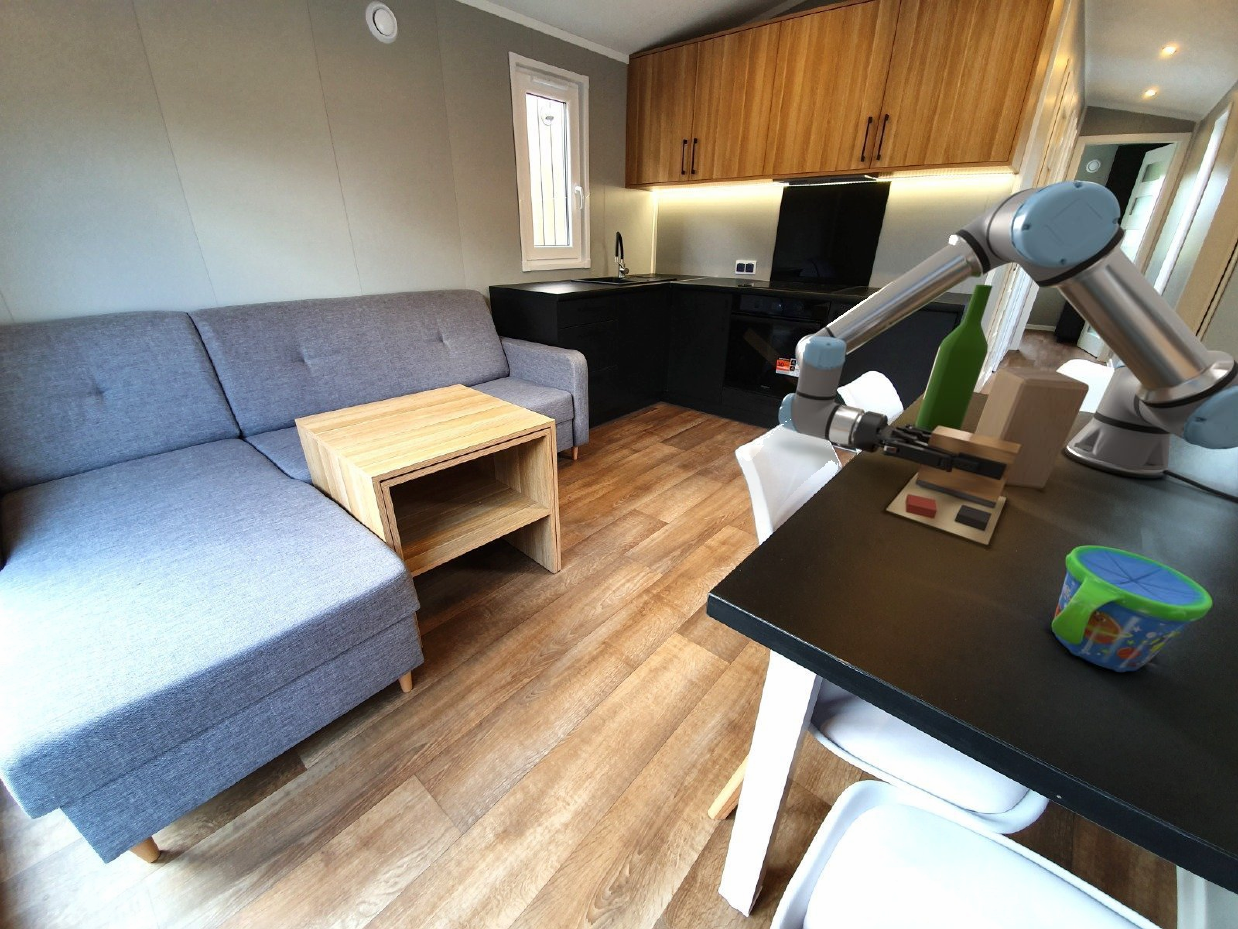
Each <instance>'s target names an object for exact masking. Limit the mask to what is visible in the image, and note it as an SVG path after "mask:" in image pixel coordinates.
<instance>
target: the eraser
mask: <svg viewBox="0 0 1238 929" xmlns="http://www.w3.org/2000/svg"><path fill="white" fill-rule="evenodd" d="M928 445H931V446H935V447H938V448H941V449H944V450H947V451H950V452H954V453H956V454H957V457H958V455H959V453H960V452H962V453H966V454H969V455H973V456H977V457H981V458H985V459H989V460H993V461H997V462H1001V463H1005V464H1007V465H1006V467H1005V470H1004V472H1003V475H1002V477H1001V480H996V479H993V478H989V477H985V476H982V475H978V474H974V473H971V472H967V471H963V470H960V469H956V468H954V466H953V469H952V472H946V470H940V469H937V468H933V467H930V466H926V465H923V464H920V467H919V470H918V472H919V473H918V476H917V479H916V482H915V484H917V485H920V486H924V487H927V488H930V489H934V490H937V491H940V492H943V493H947V494H950V495H953V496H957V497H960V498H963V499H967V500H970V501H973V502H977V503H980V504H983V505H986V506H990V507H993V508H995V506H996V503H997V501H998V499H999V496H1001V494H1002V492H1003V489H1004V488H1005V485H1004V484H1005V482H1006V480H1007V477H1008V475H1009V472H1010V470H1011V468H1012V465H1013V463H1014V460H1015V458H1016V456H1017V453H1018V451H1019V448H1020V446H1021V444H1016V443H1012V442H1008V441H1003V440H999V439H995V438H990V437H986V436H982V435H977V434H975V433H972V432H968V431H964V430H961V429H960V430H956V429H952V428H947V427H943V426H938V427H937V428H936V429H935V430H934V431H933V432H932V433H931V436H930V439H929V442H928Z"/></svg>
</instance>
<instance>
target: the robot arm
mask: <svg viewBox="0 0 1238 929" xmlns="http://www.w3.org/2000/svg"><path fill="white" fill-rule="evenodd" d="M1120 218H1121V207H1120V204H1119V201H1118V199H1117V197H1116V196H1115V194H1114V193H1113V192H1112V191H1111V190H1110V189H1108V188H1107V187H1105V186H1103V185H1101V184H1099V183H1096V182H1091V181H1084V180H1083V181H1082V180H1065V181H1059V182H1055V183H1052V184H1048V185H1045V186H1038V187H1031V188H1027V189H1026V188H1025V189H1022V190H1020V191H1016V192H1014V193H1011V194H1010V195H1008V196H1006V197H1005V198H1003V199H1001V200H1000V201H998V202H997V203H996V204H994V205H993V206H991V207H990V208H989V209H987V210H986V211H984V212H983V213H981V214H980V215H978V216H977V217H975V219H973V220H972V221H971V222H969V223H968V224H965V226H964V227H962V228H960V229H959V230H958V231H955V233H953V234H952V235H951V236H950V237H949V240H948V243H947V244H946V245H945V246H943V247H942V248H940V249H939V250H937V251H936V252H935V253H933V254H931V255H930V256H929V257H927V258H925V259H924V260H922V261H921V262H920V263H918V264H917V265H915V266H913V267H912V268H911V269H909V270H908V271H906V272H905V273H904V274H902V275H900V276H898V277H897V278H896V279H895V280H893V281H891V282H890V283H889V284H887V285H885V286H884V287H883V288H881V289H879V290H878V291H877V292H875V293H873V294H872V295H870V296H869V297H868V298H867V299H865V300H863V301H861V302H860V303H859V304H857V305H856V306H854V307H853V308H851V309H850V310H848V311H847V312H845V313H844V314H843V315H841V316H839V317H838V318H837V319H834V321H833V322H831V323H829V324H827V325H826V326H825V327H823V328H822V329H820V330H819V331H817V332H816V333H811V334H808V335H805V336H803V337H802V338H801V339H800V340H799V341H798V343H797V345H796V347H795V352H794V356H795V357H794V358H795V361H796V364H797V366H798V369H799V374H798V381H797V386H796V390H795V393H794V392H793V393H789V394H787V395H786V396H785V397H784V398H783V400H782V402H781V405H780V407H779V410H778V422H779V425H781V424H784V425H782V426H781V427H782V428H785V429H787V430H789V431H790V430H791V431H793V432H795V433H796V434H797V433H798V434H801V435H806V436H809V437H812V438H813V437H814V438H816V439H817V438H818V439H821V440H825V441H828V442H832V443H836V445H837V446H838V447H842V446H846V447H854V448H855V449H856V450H860V451H862V452H867V453H870V454H875V453H876V452H877V451H878V450H879V448H881V449H883V450H882V455H884V456H887V457H894V458H899V459H902V460H905V461H908V462H913V463H915V464H918V465H919V464H920V465H921V464H923V465H926V466H930V467H933V468H937V469H940V470H946V472H952V469H953V466H954V468H956V469H960V470H963V471H967V472H971V473H974V474H978V475H982V476H985V477H989V478H993V479H996V480H1001V477H1002V475H1003V472H1004V470H1005V467H1006V465H1007V464H1005V463H1001V462H997V461H993V460H989V459H985V458H981V457H977V456H973V455H969V454H966V453H962V452H960V453H959V455H958V457H957V454H956V453H954V452H950V451H947V450H944V449H941V448H938V447H935V446H931V445H928V442H929V439H930V436H931V433H932V432H933V431H931V430H927V429H923V428H919V427H916V426H915V425H913V424H910V423H905V424H904V425H903V426H902V425H897V426H894V425H889V423H888V422H889V417H888V415H886V414H883V413H879V412H876V411H871V410H868V411H865V410H864V409H863V408H858V407H854V406H849V405H845V404H840V403H837V402H835V400H836V397H837V391H838V387H839V382H840V378H841V375H842V371H843V368H844V363H845V362H846V356H847V355H848V354H850V353H852V352H853V351H855V350H856V349H858V348H860V347H861V346H863V345H864V344H866V343H868V342H869V341H871V340H872V339H874V338H876V337H877V336H879V335H881V334H882V333H883V332H885V331H887V330H888V329H890V328H891V327H893V326H895V325H896V324H898V323H899V322H901V321H903V320H904V319H906V318H907V317H909V316H911V315H912V314H913V313H915V312H917V311H918V310H920V309H922V308H924V307H925V306H926V305H928V304H930V303H931V302H932V301H934V300H936V299H937V298H939V297H941V296H942V295H944V294H945V293H947V292H948V291H950V290H952V289H954V288H955V287H956V286H959V285H961V283H963V282H965V281H966V280H968V279H970V278H981V277H983V276H984V275H986V274H987V273H989V272H991V271H993V270H994V269H997V268H999V267H1003V266H1004V265H1007V264H1011V263H1013V264H1015V263H1016V264H1018V266H1019V267H1020V268H1021V269H1022V270H1023V271H1024V272H1025V273H1026V274H1027V276H1028V277H1029V278H1031V280H1032V281H1033V282H1034V283H1035V284H1036V286H1038V288H1040V289H1041V288H1042V289H1052V288H1053V289H1054V288H1055V289H1057V291H1058V292H1059V293H1060V294H1061V296H1063V297H1064V299H1065V300H1066V301H1067V302H1068V303H1069V304H1070V305H1071V306H1072V307H1073V309H1074V310H1075V311H1076V312H1077V313H1078V314H1079V316H1080V317H1082V319H1083V320H1084V322H1086V323H1087V324H1088V326H1089V327H1091V329H1092V330H1093V331H1094V332H1095V334H1096V335H1097V336H1098V337H1099V338H1100V339H1101V340H1102V341H1103V342H1104V343H1105V344H1106V346H1107V347H1108V348H1109V349H1110V350H1111V351H1112V352H1113V353H1114V355H1115V356H1116V357H1117V358H1118V359H1119V361H1118V363H1117V364H1116V366H1115V367H1114V370H1113V373H1112V375H1111V378H1110V380H1109V382H1108V384H1107V386H1106V388H1105V390H1104V393H1103V395H1102V397H1101V399H1100V401H1099V403H1098V406H1097V408H1096V410H1095V412H1094V414H1093V416H1092V418H1091V420H1090V421H1089V422H1088V423H1086V425H1085V426H1084V427H1083V428H1082V429H1081V430H1080V431H1078V433H1077V434H1076V435H1075V436H1074V437H1072V439H1070V441H1068V443H1067V444H1066V447H1065V449H1064V453H1065V454H1066V456H1067V457H1069V458H1070V459H1071V460H1074V461H1076V462H1077V463H1079V464H1082V465H1084V466H1087V467H1090V468H1093V469H1096V470H1099V471H1102V472H1106V473H1111V474H1115V475H1118V476H1119V475H1120V476H1123V477H1129V478H1130V477H1131V478H1138V479H1158V478H1162V477H1163V476H1164V475H1167V476H1169V477H1172V478H1174V479H1177V480H1179V481H1181V482H1184V483H1186V484H1188V485H1191V486H1193V487H1195V488H1198V489H1200V490H1202V491H1204V492H1207V493H1210V494H1213V495H1215V496H1219V497H1222V498H1225V499H1228V500H1231V501H1234V502H1238V496H1236V495H1233V494H1229V493H1226V492H1223V491H1220V490H1218V489H1214V488H1212V487H1209V486H1207V485H1204V484H1202V483H1199V482H1197V481H1195V480H1193V479H1190V478H1188V477H1185V476H1183V475H1180V474H1178V473H1175V472H1174V471H1171V470H1168V468H1169V455H1170V442H1171V441H1170V440H1171V436H1172V435H1173V436H1175V437H1177V438H1180V439H1182V440H1184V441H1185V442H1186V443H1189V444H1190V445H1193V446H1199V447H1201V448H1204V449H1207V450H1229V449H1236V448H1238V362H1237V361H1236V360H1235V359H1234V357H1233V356H1231V354H1230V353H1227V352H1226V351H1223V350H1208V349H1207V347H1206V346H1205V344H1203V343H1202V342H1201V340H1200V339H1199V338H1198V337H1197V336H1196V335H1195V334H1194V332H1193V331H1192V330H1191V329H1190V327H1188V325H1187V324H1186V323H1185V322H1184V320H1182V318H1181V317H1180V316H1179V315H1178V313H1176V311H1175V310H1174V309H1173V308H1172V306H1171V305H1170V304H1169V303H1168V302H1167V301H1166V300H1165V299H1164V297H1163V296H1162V295H1161V294H1160V293H1159V292H1158V290H1157V289H1156V288H1155V287H1154V285H1152V283H1151V282H1150V281H1149V280H1148V279H1147V278H1146V276H1145V275H1144V274H1143V273H1142V272H1141V271H1140V269H1139V268H1138V267H1137V266H1136V265H1135V263H1133V261H1132V260H1131V259H1130V257H1128V256H1127V254H1126V253H1125V252H1124V250H1122V249H1121V246H1122V244H1123V242H1124V240H1125V238H1126V231H1125V230H1124V229H1123V228H1122V226H1121V225H1120V224H1119V223H1118V221H1119V219H1120ZM790 419H791V420H790ZM785 421H787V422H785Z"/></svg>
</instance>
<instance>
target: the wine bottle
mask: <svg viewBox="0 0 1238 929" xmlns="http://www.w3.org/2000/svg"><path fill="white" fill-rule="evenodd" d="M992 289H993V285H990V284H975V285H974V289H973V292H972V295H971V298H970V300H969V303H968V307H967V309H966V312H965V315H964V318H963V321H961V323H960V324H959V325H958V326H957V327H956V328H955V329H953V331H951V333H949V334H948V335H947V336H946V337H945V338H944V339H943V340H942V342H941V344H940V345H939V347H938V350H937V352H936V355H935V359H934V362H933V366H932V369H931V373H930V376H929V378H928V381H927V385H926V389H925V392H924V395H923V398H922V402H921V405H920V409H919V412H918V414H917V418H916V421H915V424H914V426H916V427H919V428H923V429H927V430H931V431H934V430H935V429H936V428H937V427H938V426H943V427H947V428H952V429H956V430H960V431H961V428H962V425H963V423H964V420H965V417H966V414H967V411H968V409H969V406H970V402H971V400H972V397H973V394H974V391H975V389H976V386H977V383H978V380H979V377H980V375H981V372H982V369H983V366H984V363H985V361H986V357H987V355H988V349H989V344H988V340H987V338H986V335H985V333H984V329H983V326H982V319H983V317H984V314H985V311H986V308H987V306H988V302H989V298H990V295H991V292H992Z"/></svg>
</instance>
